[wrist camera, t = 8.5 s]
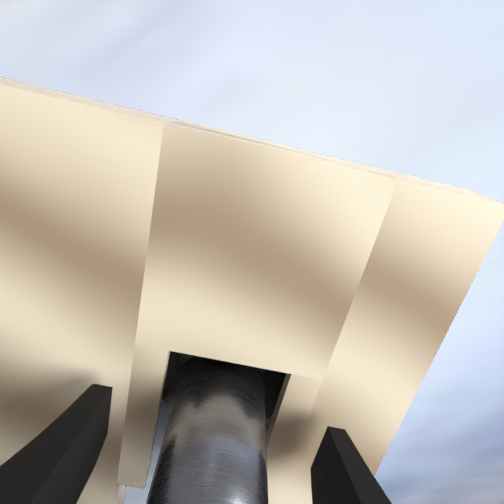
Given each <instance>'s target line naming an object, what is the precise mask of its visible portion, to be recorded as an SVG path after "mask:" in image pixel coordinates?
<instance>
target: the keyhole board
mask: <svg viewBox="0 0 504 504" xmlns="http://www.w3.org/2000/svg"><path fill="white" fill-rule="evenodd" d="M503 221H504V203H502V202H499V201H497V200H494V199H492V198H489V197H487V196H484V195H482V194H479V193H477V192H474V191H472V190H469V189H464V188H460V187H456V186H452V185H448V184H444V183H439V182H435V181H431V180H427V179H423V178H419V177H414V176H410V175H406V174H402V173H398V172H394V171H389V170H385V169H381V168H377V167H373V166H369V165H364V164H360V163H356V162H352V161H348V160H344V159H339V158H335V157H331V156H327V155H323V154H318V153H314V152H310V151H306V150H302V149H298V148H293V147H289V146H285V145H281V144H277V143H273V142H268V141H264V140H260V139H256V138H252V137H248V136H243V135H239V134H235V133H231V132H227V131H223V130H218V129H214V128H210V127H206V126H202V125H198V124H193V123H189V122H185V121H181V120H177V119H173V118H168V117H164V116H160V115H156V114H152V113H147V112H143V111H139V110H135V109H131V108H127V107H122V106H118V105H114V104H110V103H106V102H102V101H97V100H93V99H89V98H85V97H81V96H77V95H72V94H68V93H64V92H60V91H56V90H52V89H47V88H43V87H39V86H35V85H31V84H27V83H22V82H18V81H14V80H10V79H6V78H2V77H0V465H2V464H3V463H4V462H6V461H7V460H8V459H10V458H11V457H12V456H13V455H14V454H16V453H17V452H18V451H19V450H21V449H22V448H23V447H24V446H25V445H27V444H28V443H29V442H30V441H32V440H33V439H34V438H35V437H36V436H37V435H39V434H40V433H41V432H42V431H43V430H44V429H45V428H46V427H48V426H49V425H50V424H51V423H52V422H53V421H54V420H55V419H56V418H58V417H59V416H60V415H61V414H62V413H63V412H64V411H65V410H66V409H67V408H68V407H69V406H70V405H71V404H72V403H73V402H74V401H75V400H76V399H77V398H78V397H79V396H80V395H81V394H82V393H83V392H84V391H85V390H86V389H87V388H88V387H89V386H90V385H92V384H99V385H104V386H110V387H113V389H112V398H111V407H110V416H109V425H108V434H107V436H106V439H105V442H104V444H103V447H102V450H101V452H100V455H99V457H98V460H97V462H96V465H95V467H94V469H93V471H92V473H91V475H90V477H89V479H88V481H87V483H86V485H85V487H84V489H83V491H82V493H81V495H80V497H79V499H78V501H77V503H76V504H124V497H125V490H126V486H132V487H139V488H145V484H146V481H147V477H148V474H149V468H150V462H151V457H152V451H153V445H154V440H155V434H156V428H157V423H158V417H159V411H160V405H161V400H162V394H163V388H164V383H165V377H166V371H167V366H168V360H169V354H170V351H173V352H179V353H184V354H189V355H194V356H200V357H205V358H210V359H215V360H221V361H226V362H231V363H236V364H241V365H247V366H252V367H257V368H262V369H268V370H273V371H278V372H283V373H286V376H285V379H284V382H283V385H282V388H281V391H280V394H279V397H278V400H277V403H276V406H275V409H274V412H273V415H272V418H271V422H270V425H269V428H268V431H267V434H266V446H267V475H268V504H313V503H312V490H311V470H310V468H311V466H312V463H313V461H314V458H315V456H316V453H317V451H318V449H319V446H320V444H321V441H322V439H323V436H324V434H325V431H326V429H327V426H329V427H335V428H340V429H345V430H346V432H347V433H348V435H349V437H350V438H351V440H352V442H353V443H354V445H355V446H356V448H357V450H358V451H359V453H360V455H361V456H362V458H363V460H364V461H365V463H366V465H367V466H368V468H369V469H370V471H371V473H372V474H373V476H374V475H375V473H376V471H377V469H378V467H379V465H380V464H381V462H382V460H383V458H384V456H385V454H386V452H387V450H388V448H389V446H390V444H391V442H392V440H393V438H394V436H395V434H396V432H397V430H398V428H399V426H400V424H401V422H402V420H403V418H404V416H405V414H406V412H407V410H408V408H409V406H410V404H411V402H412V400H413V398H414V396H415V394H416V392H417V390H418V388H419V387H420V385H421V383H422V381H423V379H424V377H425V375H426V373H427V371H428V369H429V367H430V365H431V363H432V361H433V359H434V357H435V355H436V353H437V351H438V349H439V347H440V345H441V343H442V341H443V339H444V337H445V335H446V333H447V331H448V329H449V327H450V325H451V323H452V321H453V319H454V317H455V315H456V313H457V311H458V310H459V308H460V306H461V304H462V302H463V300H464V298H465V296H466V294H467V292H468V290H469V288H470V286H471V284H472V282H473V280H474V278H475V276H476V274H477V272H478V270H479V268H480V266H481V264H482V262H483V260H484V258H485V256H486V254H487V252H488V250H489V248H490V246H491V244H492V242H493V240H494V238H495V236H496V235H497V233H498V231H499V229H500V227H501V225H502V223H503Z"/></svg>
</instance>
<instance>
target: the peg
mask: <svg viewBox="0 0 504 504" xmlns="http://www.w3.org/2000/svg"><path fill="white" fill-rule="evenodd" d="M285 376H286V373H283V372H278V371H273V370H268V369H262V368H257V367H252V366H247V365H241V364H236V363H231V362H226V361H221V360H215V359H210V358H205V357H200V356H194V355H189V354H184V353H179V352H173V351H170V354H169V360H168V366H167V371H166V377H165V383H164V388H163V394H162V400H163V402H164V403H165V405H166V406H167V407H168V408H169V409H170V410H171V414H170V417H169V421H168V425H167V428H166V432H165V436H164V439H163V443H162V447H161V450H160V454H159V458H158V461H157V465H156V469H155V472H154V476H153V480H152V483H151V487H150V491H149V494H148V498H147V502H146V504H268V475H267V446H266V420H267V419H268V418H270V417H271V416H272V415H273V412H274V409H275V406H276V403H277V400H278V397H279V394H280V391H281V388H282V385H283V382H284V379H285Z"/></svg>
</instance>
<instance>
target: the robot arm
mask: <svg viewBox="0 0 504 504" xmlns="http://www.w3.org/2000/svg"><path fill="white" fill-rule="evenodd" d="M112 389H113V387H110V386H104V385H99V384H92V385H90V386H89V387H88V388H87V389H86V390H85V391H84V392H83V393H82V394H81V395H80V396H79V397H78V398H77V399H76V400H75V401H74V402H73V403H72V404H71V405H70V406H69V407H68V408H67V409H66V410H65V411H64V412H63V413H62V414H61V415H60V416H59V417H58V418H56V419H55V420H54V421H53V422H52V423H51V424H50V425H49V426H48V427H46V428H45V429H44V430H43V431H42V432H41V433H40V434H39V435H37V436H36V437H35V438H34V439H33V440H32V441H30V442H29V443H28V444H27V445H25V446H24V447H23V448H22V449H21V450H19V451H18V452H17V453H16V454H14V455H13V456H12V457H11V458H10V459H8V460H7V461H6V462H4V463H3V464H2V465H0V504H76V503H77V501H78V499H79V497H80V495H81V493H82V491H83V489H84V487H85V485H86V483H87V481H88V479H89V477H90V475H91V473H92V471H93V469H94V467H95V465H96V462H97V460H98V457H99V455H100V452H101V450H102V447H103V444H104V442H105V439H106V436H107V434H108V425H109V416H110V407H111V398H112ZM310 470H311V490H312V503H313V504H392V503H391V502H390V501H389V499H388V498H387V496H386V494H385V493H384V491H383V490H382V488H381V487H380V485H379V484H378V482H377V481H376V479H375V477H374V476H373V474H372V473H371V471H370V469H369V468H368V466H367V465H366V463H365V461H364V460H363V458H362V456H361V455H360V453H359V451H358V450H357V448H356V446H355V445H354V443H353V442H352V440H351V438H350V437H349V435H348V433H347V432H346V430H345V429H340V428H335V427H329V426H327V429H326V431H325V434H324V436H323V439H322V441H321V444H320V446H319V449H318V451H317V453H316V456H315V458H314V461H313V463H312V466H311V468H310Z"/></svg>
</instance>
